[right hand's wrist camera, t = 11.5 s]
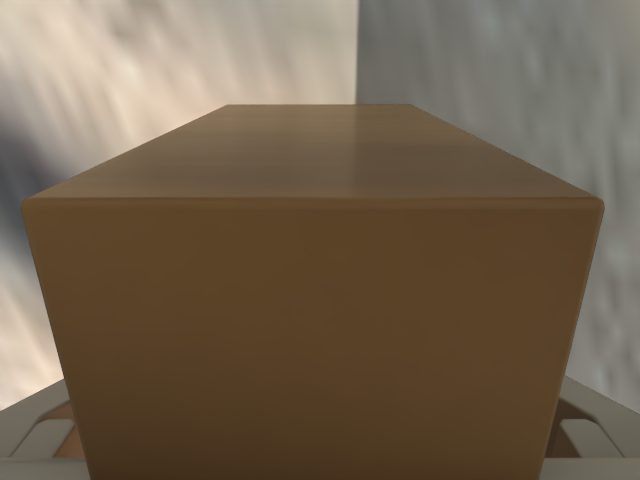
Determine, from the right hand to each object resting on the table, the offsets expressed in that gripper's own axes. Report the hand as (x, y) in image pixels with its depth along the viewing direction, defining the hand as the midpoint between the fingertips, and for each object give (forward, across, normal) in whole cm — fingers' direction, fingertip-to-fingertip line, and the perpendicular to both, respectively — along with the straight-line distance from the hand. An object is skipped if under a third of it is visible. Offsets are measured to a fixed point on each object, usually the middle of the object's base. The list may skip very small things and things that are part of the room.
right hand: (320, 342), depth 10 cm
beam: (+4, 0, -26) cm, 27 cm away
